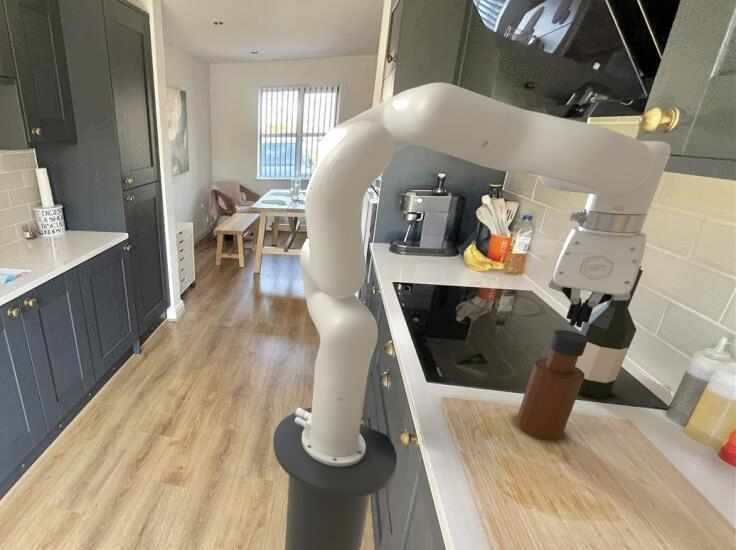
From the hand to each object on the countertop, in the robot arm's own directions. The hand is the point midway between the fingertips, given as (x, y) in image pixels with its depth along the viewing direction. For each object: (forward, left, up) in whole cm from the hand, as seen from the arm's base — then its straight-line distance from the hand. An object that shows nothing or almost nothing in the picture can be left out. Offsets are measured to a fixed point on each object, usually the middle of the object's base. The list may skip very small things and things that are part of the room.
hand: (575, 323), depth 72 cm
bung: (0, 0, -8) cm, 8 cm away
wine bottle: (+7, +24, -24) cm, 34 cm away
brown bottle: (0, 0, -23) cm, 23 cm away
